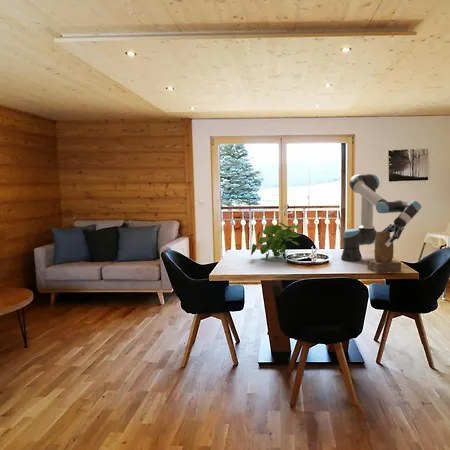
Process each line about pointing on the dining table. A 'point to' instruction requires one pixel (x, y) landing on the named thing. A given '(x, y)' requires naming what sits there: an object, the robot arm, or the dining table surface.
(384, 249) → the block
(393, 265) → the block
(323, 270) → the dining table surface
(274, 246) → the indoor plant
